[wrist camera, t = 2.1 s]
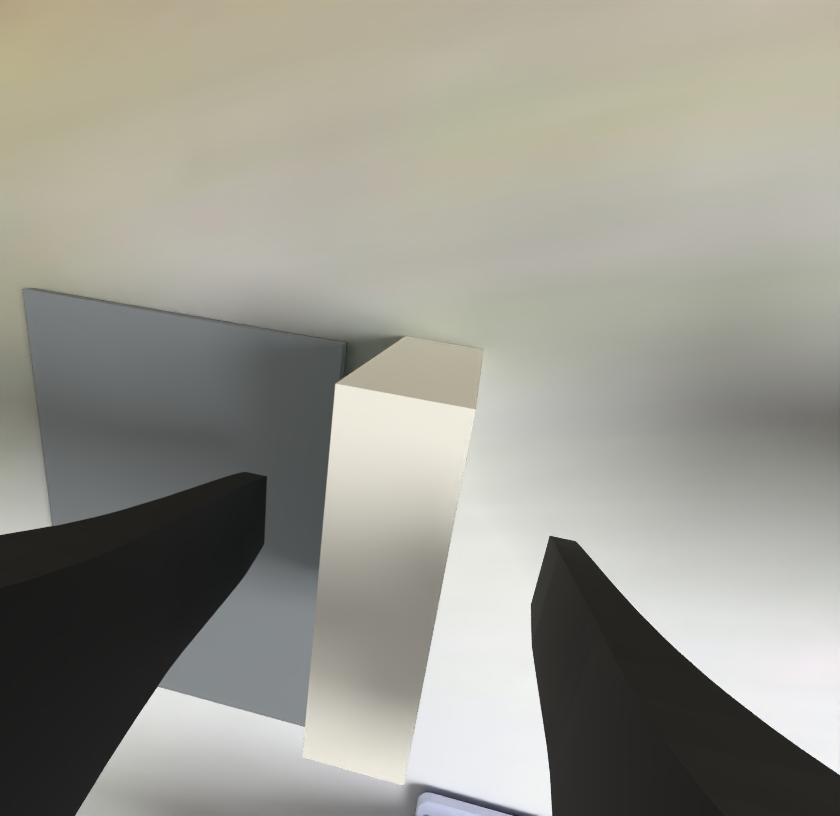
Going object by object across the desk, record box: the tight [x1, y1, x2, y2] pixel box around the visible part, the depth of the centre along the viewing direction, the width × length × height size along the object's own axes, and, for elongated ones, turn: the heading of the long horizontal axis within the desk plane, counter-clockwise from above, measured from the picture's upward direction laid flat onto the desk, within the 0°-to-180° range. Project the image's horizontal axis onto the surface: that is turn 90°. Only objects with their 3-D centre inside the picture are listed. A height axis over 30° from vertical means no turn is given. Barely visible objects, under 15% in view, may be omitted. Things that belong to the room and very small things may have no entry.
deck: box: [302, 336, 484, 786], centre depth 12 cm, size 9×2×6 cm, turn 172°
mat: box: [23, 288, 347, 727], centre depth 17 cm, size 16×11×1 cm
